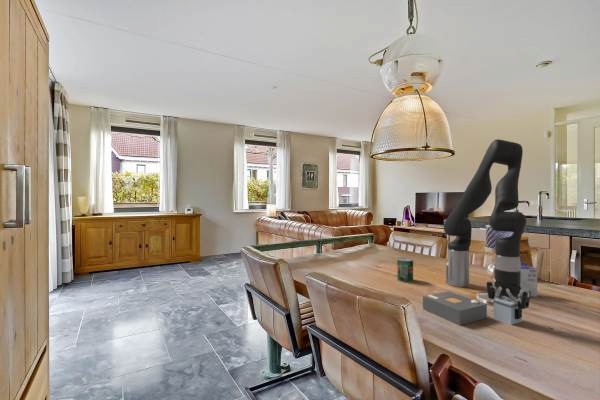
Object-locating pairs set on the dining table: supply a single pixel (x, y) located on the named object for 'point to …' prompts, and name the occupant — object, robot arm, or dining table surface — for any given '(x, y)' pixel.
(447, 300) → the breaker button
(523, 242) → the coffee package
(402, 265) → the canned tomato
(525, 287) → the ink cartridge box
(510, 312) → the cap
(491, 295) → the robot arm
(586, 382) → the dining table surface
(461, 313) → the box
